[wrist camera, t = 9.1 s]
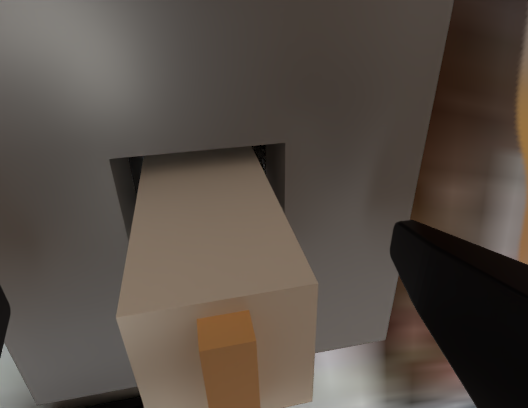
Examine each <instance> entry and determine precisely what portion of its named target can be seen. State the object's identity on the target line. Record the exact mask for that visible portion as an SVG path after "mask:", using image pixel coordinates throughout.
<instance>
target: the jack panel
mask: <svg viewBox="0 0 528 408" xmlns="http://www.w3.org/2000/svg"><path fill="white" fill-rule="evenodd" d="M453 4H454V0H0V285H1V287H2V289H3V291H4V293H5V296H6V298H7V300H8V302H9V304H10V309H11V315H10V320H9V324H8V328H7V332H6V336H5V340H4V343H5V345H6V347H7V349H8V351H9V353H10V355H11V357H12V358H13V360H14V362H15V364H16V366H17V368H18V370H19V372H20V374H21V376H22V378H23V380H24V381H25V383H26V385H27V387H28V389H29V391H30V393H31V395H32V397H33V399H34V401H35V403H36V404H37V405H42V404H48V403H53V402H58V401H64V400H69V399H74V398H80V397H85V396H90V395H96V394H101V393H106V392H111V391H117V390H122V389H127V388H133V387H138V386H137V383H136V380H135V377H134V374H133V370H132V367H131V364H130V361H129V358H128V355H127V352H126V348H125V345H124V342H123V339H122V336H121V333H120V329H119V326H118V323H117V320H116V313H117V308H118V302H119V296H120V291H121V285H122V279H123V273H124V268H125V262H126V256H127V250H128V245H129V239H130V233H131V227H132V222H133V216H134V210H135V204H136V199H137V197H136V192H135V187H134V183H133V178H132V173H131V168H130V164H129V159H128V157H136V156H147V155H157V154H168V153H179V152H190V151H201V150H212V149H223V148H233V147H244V146H255V145H266V177H267V179H268V181H269V183H270V185H271V187H272V189H273V191H274V193H275V196H276V198H277V200H278V202H279V204H280V206H281V208H282V210H283V212H284V214H285V216H286V218H287V220H288V222H289V224H290V226H291V228H292V230H293V232H294V234H295V237H296V239H297V241H298V243H299V245H300V247H301V249H302V251H303V253H304V255H305V257H306V259H307V261H308V263H309V265H310V267H311V269H312V271H313V273H314V276H315V278H316V280H317V282H318V300H317V320H316V339H315V353H318V352H324V351H329V350H334V349H340V348H345V347H350V346H355V345H361V344H366V343H371V342H377V341H382V340H385V339H386V334H387V329H388V324H389V319H390V314H391V309H392V304H393V299H394V295H395V290H396V285H397V280H398V275H399V274H398V272H397V270H396V267H395V265H394V263H393V261H392V259H391V256H390V244H391V238H392V233H393V228H394V225H395V223H396V222H398V221H405V220H410V216H411V211H412V206H413V201H414V196H415V191H416V186H417V181H418V176H419V171H420V166H421V161H422V156H423V151H424V147H425V142H426V137H427V132H428V127H429V122H430V117H431V112H432V107H433V102H434V97H435V92H436V87H437V82H438V77H439V73H440V68H441V63H442V58H443V53H444V48H445V43H446V38H447V33H448V28H449V23H450V18H451V13H452V8H453Z"/></svg>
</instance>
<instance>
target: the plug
mask: <svg viewBox="0 0 528 408" xmlns="http://www.w3.org/2000/svg"><path fill="white" fill-rule="evenodd" d="M317 300H318V282H317V280H316V278H315V276H314V273H313V271H312V269H311V267H310V265H309V263H308V261H307V259H306V257H305V255H304V253H303V251H302V249H301V247H300V245H299V243H298V241H297V239H296V237H295V234H294V232H293V230H292V228H291V226H290V224H289V222H288V220H287V218H286V216H285V214H284V212H283V210H282V208H281V206H280V204H279V202H278V200H277V198H276V196H275V193H274V191H273V189H272V187H271V185H270V183H269V181H268V179H267V177H266V175H265V173H264V171H263V169H262V167H261V165H260V163H259V161H258V159H257V157H256V155H255V152H254V150H253V148H252V146H244V147H233V148H223V149H212V150H201V151H190V152H179V153H168V154H157V155H147V156H144V158H143V164H142V170H141V176H140V181H139V187H138V193H137V199H136V204H135V210H134V216H133V222H132V227H131V233H130V239H129V245H128V250H127V256H126V262H125V268H124V273H123V279H122V285H121V291H120V296H119V302H118V308H117V313H116V320H117V323H118V326H119V329H120V333H121V336H122V339H123V342H124V345H125V348H126V352H127V355H128V358H129V361H130V364H131V367H132V370H133V374H134V377H135V380H136V383H137V386H138V389H139V393H140V396H141V399H142V402H143V405H144V408H284V407H289V406H293V405H298V404H302V403H307V402H312V396H313V377H314V358H315V339H316V320H317Z"/></svg>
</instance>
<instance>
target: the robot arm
mask: <svg viewBox="0 0 528 408" xmlns="http://www.w3.org/2000/svg"><path fill="white" fill-rule="evenodd" d="M390 256H391V259H392V261H393V263H394V265H395V267H396V270H397V272H398V274H399V276H400V278H401V280H402V282H403V284H404V286H405V288H406V290H407V292H408V294H409V297H410V299H411V301H412V303H413V305H414V306H415V308H416V310H417V312H418V314H419V315H420V317H421V319H422V320H423V322H424V323H425V325H426V327H427V328H428V330H429V331H430V333H431V335H432V336H433V338H434V339H435V341H436V343H437V344H438V346H439V347H440V349H441V351H442V352H443V354H444V356H445V357H446V359H447V360H448V362H449V364H450V365H451V367H452V368H453V370H454V372H455V373H456V375H457V376H458V378H459V380H460V381H461V383H462V384H463V386H464V388H465V389H466V391H467V392H468V394H469V396H470V397H471V399H472V401H473V402H474V404H475V405H476V407H477V408H528V265H527V264H524V263H522V262H519V261H517V260H514V259H512V258H509V257H507V256H504V255H501V254H499V253H496V252H494V251H491V250H489V249H486V248H484V247H481V246H478V245H476V244H473V243H471V242H468V241H466V240H463V239H460V238H458V237H455V236H453V235H450V234H448V233H445V232H443V231H440V230H437V229H435V228H432V227H430V226H427V225H425V224H422V223H420V222H417V221H414V220H405V221H398V222H396V223H395V225H394V228H393V233H392V238H391V244H390ZM10 315H11V309H10V304H9V302H8V300H7V298H6V296H5V293H4V291H3V289H2V287H1V285H0V357H1V353H2V349H3V345H4V340H5V336H6V332H7V328H8V324H9V320H10ZM86 408H144V405H143V402H142V399H141V397H138V398H132V399H127V400H122V401H117V402H112V403H107V404H101V405H96V406H91V407H86Z"/></svg>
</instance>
